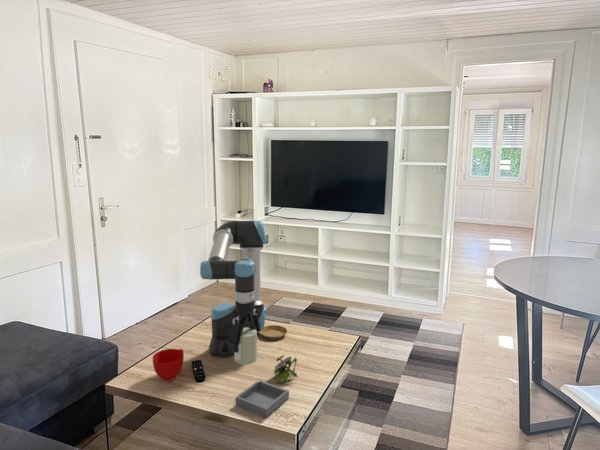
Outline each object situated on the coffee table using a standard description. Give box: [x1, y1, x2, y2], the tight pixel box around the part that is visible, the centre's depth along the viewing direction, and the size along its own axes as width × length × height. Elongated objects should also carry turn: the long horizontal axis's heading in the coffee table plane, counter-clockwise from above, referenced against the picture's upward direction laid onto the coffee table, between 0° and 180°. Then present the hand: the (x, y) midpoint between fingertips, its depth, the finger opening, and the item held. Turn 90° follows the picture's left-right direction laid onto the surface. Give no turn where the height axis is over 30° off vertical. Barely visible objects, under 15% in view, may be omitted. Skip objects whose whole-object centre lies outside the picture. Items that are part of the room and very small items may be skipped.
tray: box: [235, 379, 290, 419], centre depth 172 cm, size 15×15×4 cm
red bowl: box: [152, 348, 185, 381], centre depth 191 cm, size 13×17×10 cm
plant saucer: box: [259, 324, 288, 340], centre depth 233 cm, size 15×15×3 cm
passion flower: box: [273, 355, 298, 384], centre depth 190 cm, size 11×11×12 cm
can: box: [233, 327, 258, 365], centre depth 172 cm, size 9×9×12 cm
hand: (245, 354), depth 173 cm, fingers closed on can, 9 cm apart
